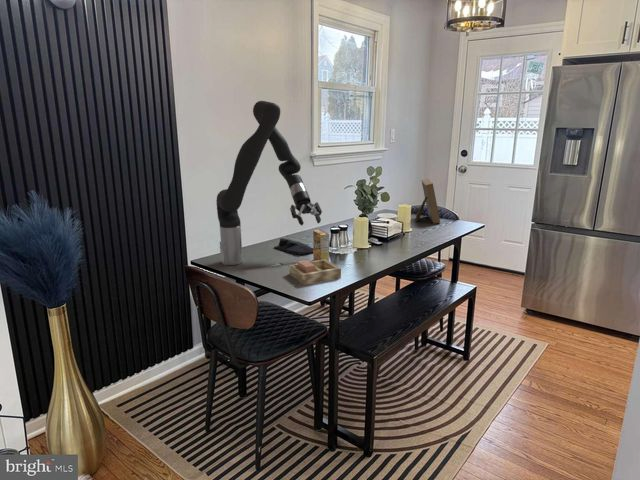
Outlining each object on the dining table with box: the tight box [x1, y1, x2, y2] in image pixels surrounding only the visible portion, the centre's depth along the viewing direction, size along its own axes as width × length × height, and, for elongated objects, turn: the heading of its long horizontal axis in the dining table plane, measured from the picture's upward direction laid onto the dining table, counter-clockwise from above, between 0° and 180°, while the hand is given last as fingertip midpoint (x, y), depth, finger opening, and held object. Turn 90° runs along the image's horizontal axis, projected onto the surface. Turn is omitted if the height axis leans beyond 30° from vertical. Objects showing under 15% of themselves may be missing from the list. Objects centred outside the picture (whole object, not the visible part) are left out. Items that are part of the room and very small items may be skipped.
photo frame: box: [414, 178, 441, 225], centre depth 282 cm, size 15×22×25 cm
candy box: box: [312, 229, 330, 262], centre depth 198 cm, size 9×4×15 cm, turn 25°
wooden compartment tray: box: [288, 259, 342, 286], centre depth 181 cm, size 16×14×6 cm
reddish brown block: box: [297, 259, 315, 273], centre depth 179 cm, size 4×8×6 cm, turn 27°
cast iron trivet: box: [273, 237, 313, 256], centre depth 223 cm, size 15×22×5 cm
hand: (310, 223), depth 204 cm, fingers open, 8 cm apart
